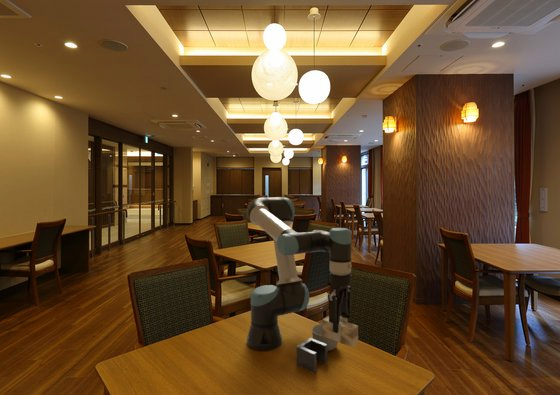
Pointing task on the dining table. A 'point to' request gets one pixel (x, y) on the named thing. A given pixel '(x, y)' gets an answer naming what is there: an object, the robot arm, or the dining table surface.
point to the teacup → (318, 336)
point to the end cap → (311, 354)
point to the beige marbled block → (347, 332)
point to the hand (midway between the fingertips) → (340, 338)
